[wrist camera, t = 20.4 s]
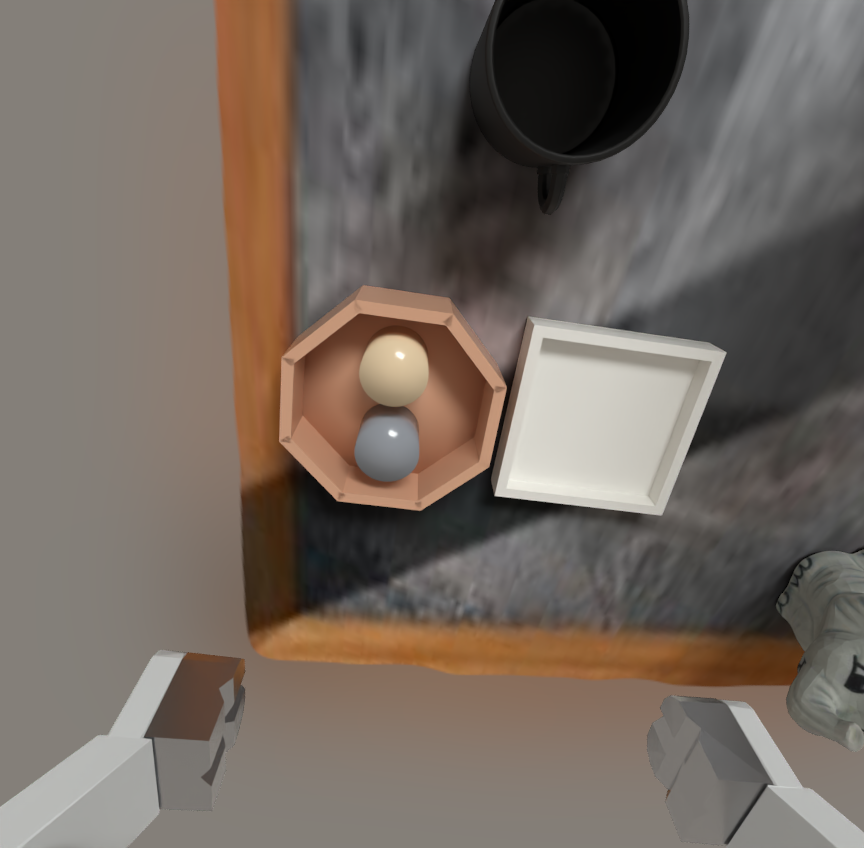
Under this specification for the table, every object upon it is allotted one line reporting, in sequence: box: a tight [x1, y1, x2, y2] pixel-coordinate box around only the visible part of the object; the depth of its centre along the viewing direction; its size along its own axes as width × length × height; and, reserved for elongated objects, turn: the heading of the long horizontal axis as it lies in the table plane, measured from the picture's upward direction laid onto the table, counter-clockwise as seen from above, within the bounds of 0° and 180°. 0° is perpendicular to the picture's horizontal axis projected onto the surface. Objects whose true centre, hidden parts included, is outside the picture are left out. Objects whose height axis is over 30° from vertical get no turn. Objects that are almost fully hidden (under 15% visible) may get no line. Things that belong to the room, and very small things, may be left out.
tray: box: [491, 316, 727, 516], centre depth 41 cm, size 14×14×2 cm
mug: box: [470, 0, 689, 215], centre depth 29 cm, size 9×12×9 cm
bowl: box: [279, 285, 507, 511], centre depth 38 cm, size 15×15×5 cm
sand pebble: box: [359, 325, 429, 407], centre depth 37 cm, size 5×5×4 cm
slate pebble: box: [354, 404, 419, 482], centre depth 39 cm, size 5×5×4 cm
